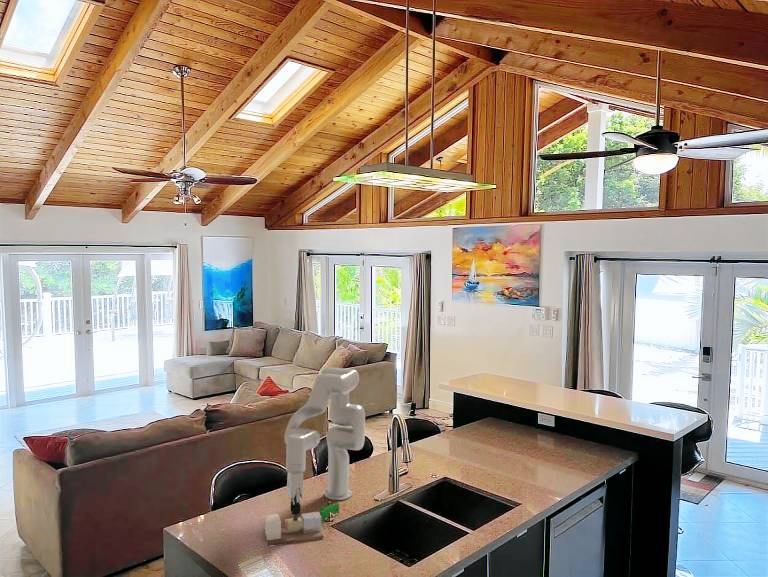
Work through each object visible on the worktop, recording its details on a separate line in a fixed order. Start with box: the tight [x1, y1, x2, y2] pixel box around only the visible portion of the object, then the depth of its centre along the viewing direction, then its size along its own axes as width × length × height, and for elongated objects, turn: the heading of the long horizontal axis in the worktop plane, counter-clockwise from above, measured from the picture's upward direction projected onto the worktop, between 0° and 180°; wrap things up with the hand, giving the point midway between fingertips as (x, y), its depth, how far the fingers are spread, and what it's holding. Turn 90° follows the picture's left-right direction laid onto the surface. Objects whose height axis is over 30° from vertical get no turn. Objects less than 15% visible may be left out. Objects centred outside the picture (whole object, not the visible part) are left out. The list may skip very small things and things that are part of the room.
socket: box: [264, 513, 282, 541], centre depth 223 cm, size 7×5×6 cm
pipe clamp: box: [319, 502, 340, 523], centre depth 243 cm, size 11×4×5 cm, turn 146°
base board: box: [263, 526, 324, 547], centre depth 225 cm, size 12×21×1 cm, turn 109°
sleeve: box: [300, 511, 322, 534], centre depth 227 cm, size 5×7×6 cm
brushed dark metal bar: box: [283, 514, 303, 530], centre depth 226 cm, size 3×13×11 cm, turn 109°
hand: (295, 512), depth 225 cm, fingers closed on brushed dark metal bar, 2 cm apart
